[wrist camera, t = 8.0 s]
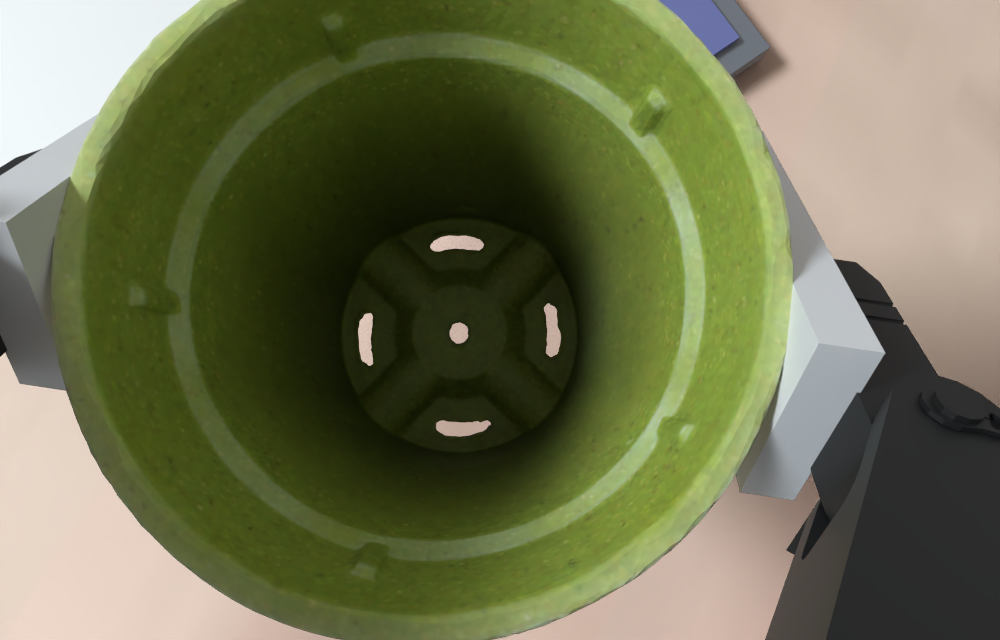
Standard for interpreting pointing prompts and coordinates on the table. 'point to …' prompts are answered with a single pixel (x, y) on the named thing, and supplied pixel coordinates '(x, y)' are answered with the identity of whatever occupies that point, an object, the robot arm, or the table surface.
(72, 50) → the marked board
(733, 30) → the ink pad
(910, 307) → the table surface
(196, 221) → the plant pot
